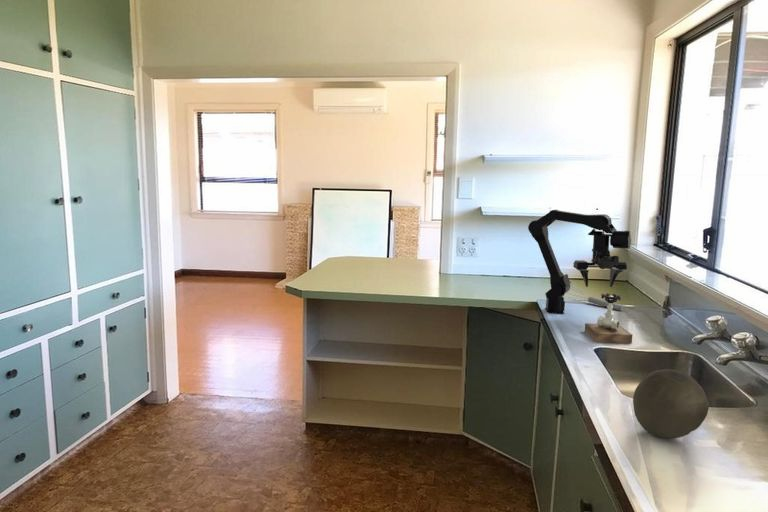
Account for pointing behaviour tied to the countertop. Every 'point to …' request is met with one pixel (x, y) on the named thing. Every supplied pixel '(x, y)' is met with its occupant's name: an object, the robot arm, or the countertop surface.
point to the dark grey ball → (670, 404)
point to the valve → (609, 313)
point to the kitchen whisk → (599, 302)
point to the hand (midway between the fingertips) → (598, 286)
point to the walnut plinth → (608, 334)
